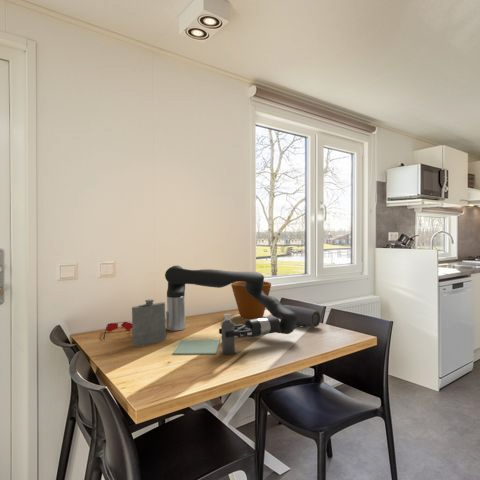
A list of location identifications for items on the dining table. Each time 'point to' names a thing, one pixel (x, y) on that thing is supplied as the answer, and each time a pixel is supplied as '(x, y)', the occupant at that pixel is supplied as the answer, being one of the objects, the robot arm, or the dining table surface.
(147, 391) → the dining table surface
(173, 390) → the dining table surface
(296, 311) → the bluetooth speaker
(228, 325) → the grey bottle
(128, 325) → the glasses
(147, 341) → the hip flask
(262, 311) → the flower pot
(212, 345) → the mat
